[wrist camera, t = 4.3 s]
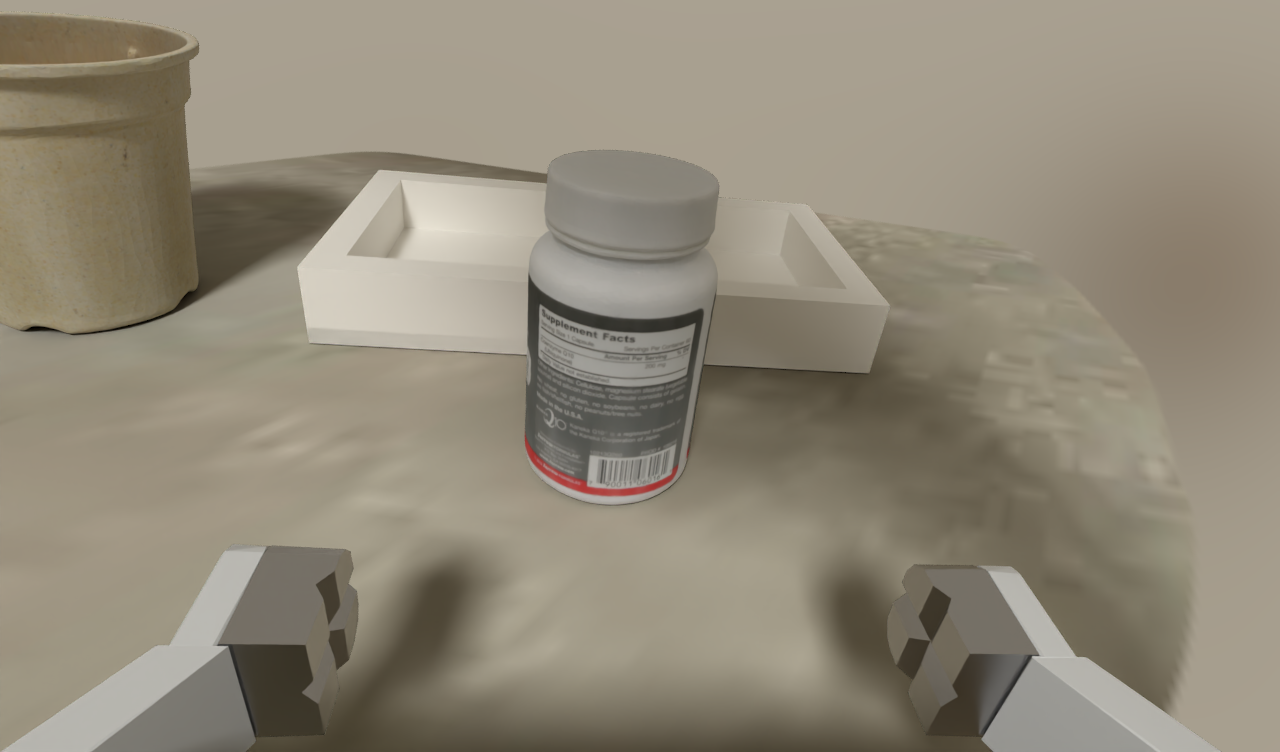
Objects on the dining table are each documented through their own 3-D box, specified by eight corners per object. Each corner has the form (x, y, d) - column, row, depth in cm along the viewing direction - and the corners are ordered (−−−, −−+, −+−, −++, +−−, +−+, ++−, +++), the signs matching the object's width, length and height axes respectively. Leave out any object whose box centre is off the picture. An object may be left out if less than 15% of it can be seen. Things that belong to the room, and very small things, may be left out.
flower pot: (71, 395, 21) (-47, 78, 16) (-154, 319, 23) (-313, 20, 18) (301, 279, 29) (264, 43, 24) (117, 230, 31) (52, 5, 26)
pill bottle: (573, 393, 24) (590, 132, 19) (707, 439, 22) (759, 169, 18) (491, 472, 20) (489, 171, 15) (647, 534, 18) (693, 221, 14)
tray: (309, 343, 24) (297, 267, 23) (384, 228, 34) (379, 169, 32) (869, 373, 27) (890, 305, 25) (794, 258, 36) (807, 204, 35)
